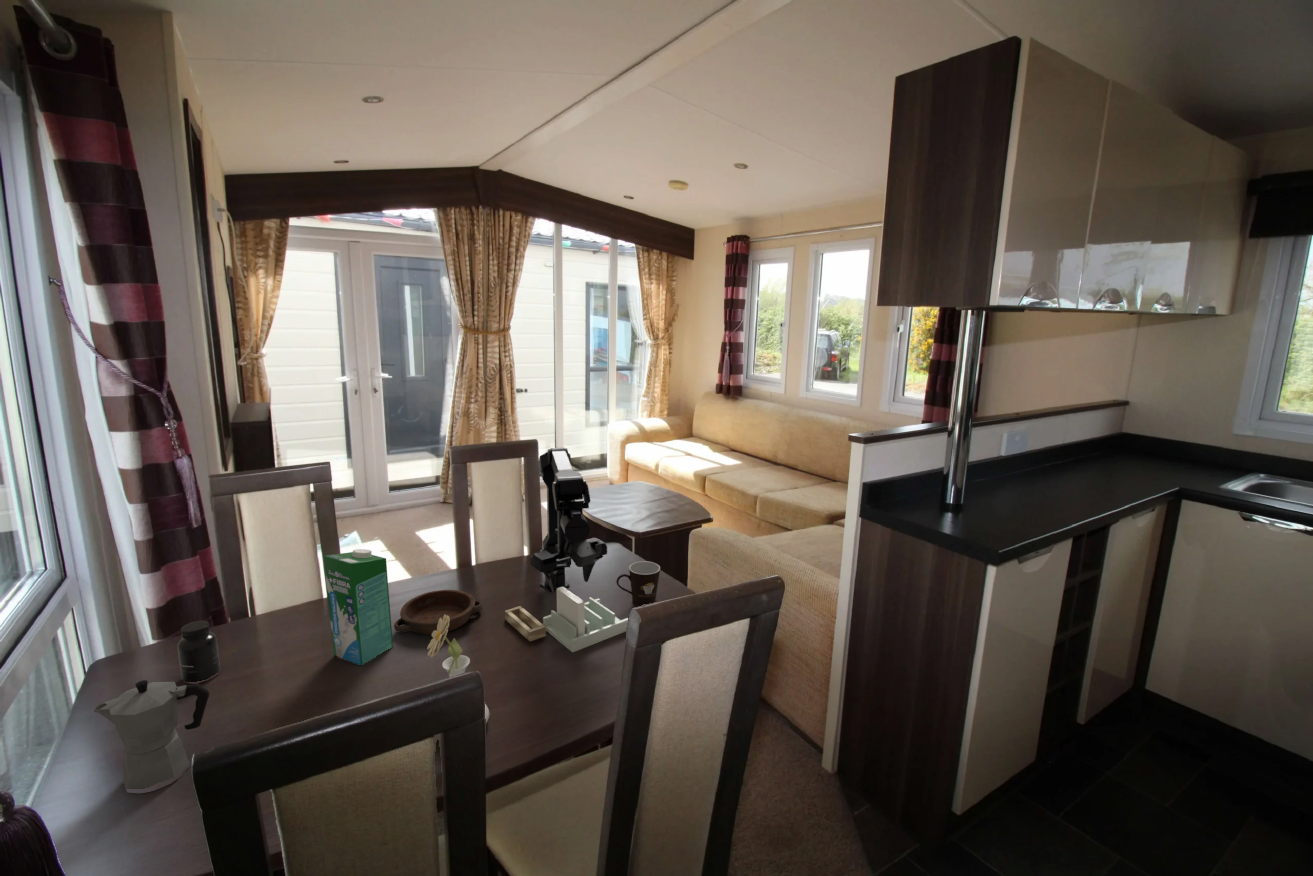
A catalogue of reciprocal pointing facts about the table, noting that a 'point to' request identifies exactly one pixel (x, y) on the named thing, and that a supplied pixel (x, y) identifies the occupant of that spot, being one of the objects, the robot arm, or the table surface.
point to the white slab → (571, 609)
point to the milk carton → (358, 605)
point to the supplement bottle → (198, 652)
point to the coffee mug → (642, 582)
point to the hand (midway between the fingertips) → (570, 586)
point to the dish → (436, 611)
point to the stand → (530, 634)
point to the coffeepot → (152, 730)
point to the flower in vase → (450, 652)
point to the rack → (596, 626)
